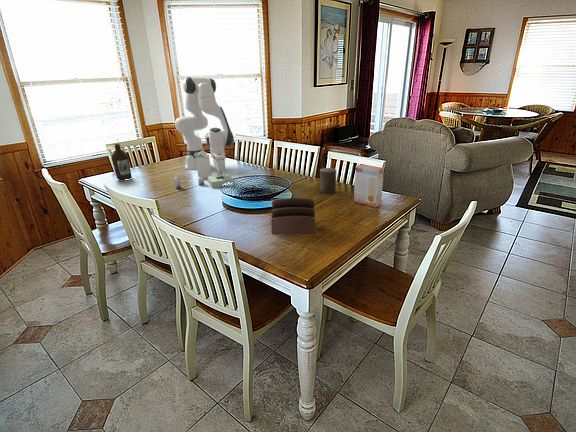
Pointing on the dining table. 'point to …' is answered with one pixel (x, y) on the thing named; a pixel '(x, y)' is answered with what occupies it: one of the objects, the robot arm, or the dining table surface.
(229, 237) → the dining table surface
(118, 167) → the olive oil
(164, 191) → the dining table surface
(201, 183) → the short pin
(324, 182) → the pillar candle
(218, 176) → the tall pin
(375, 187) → the cracker box
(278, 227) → the letter holder
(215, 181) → the socket block
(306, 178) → the dining table surface
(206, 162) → the milk carton
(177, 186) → the medium pin
